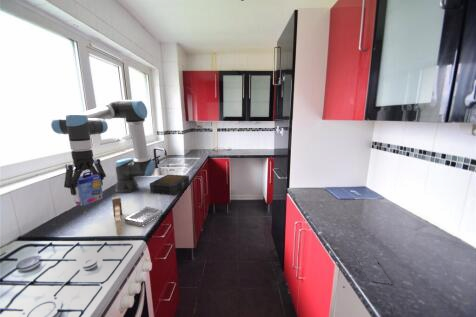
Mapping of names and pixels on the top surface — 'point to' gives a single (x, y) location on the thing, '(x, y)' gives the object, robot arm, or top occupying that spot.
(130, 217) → the index tray
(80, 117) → the robot arm
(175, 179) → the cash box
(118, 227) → the door edge board
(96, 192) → the ink cartridge box
